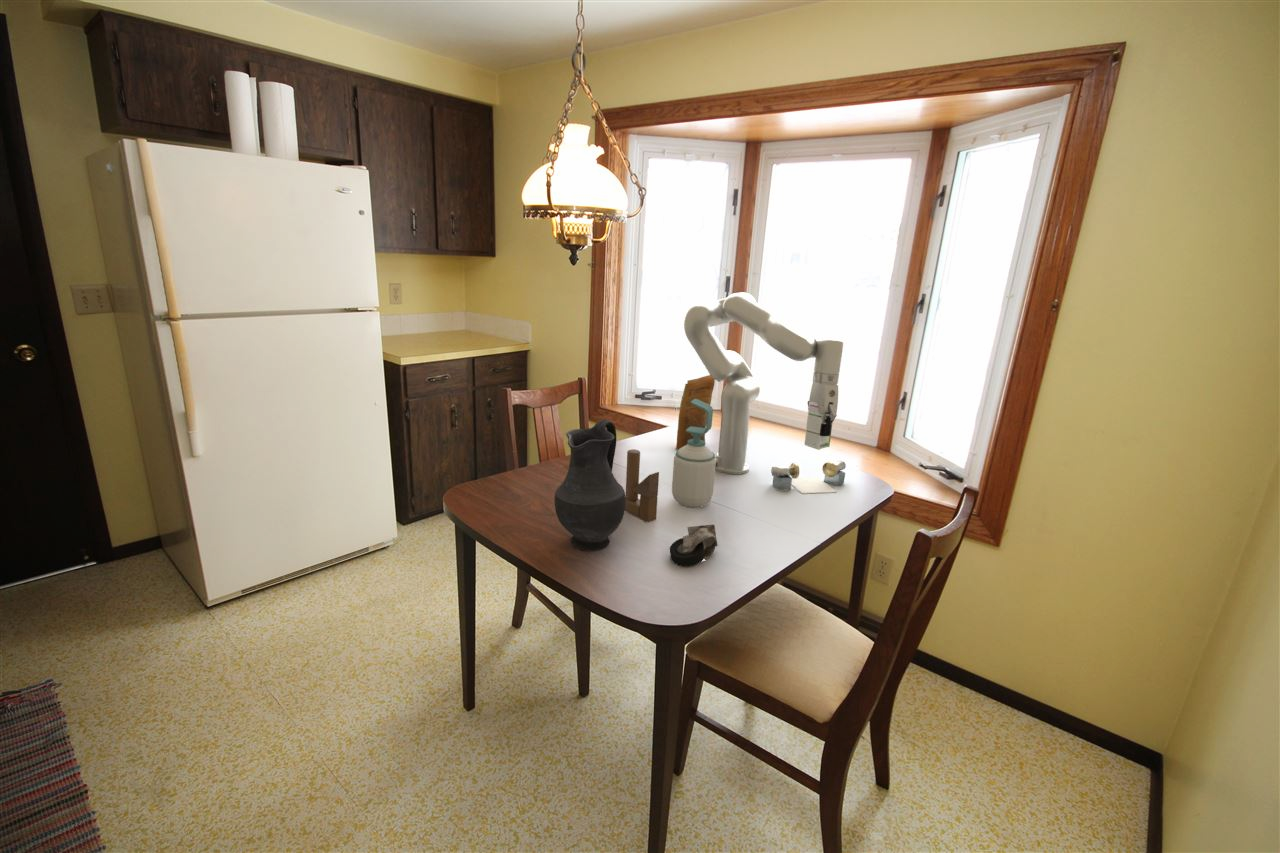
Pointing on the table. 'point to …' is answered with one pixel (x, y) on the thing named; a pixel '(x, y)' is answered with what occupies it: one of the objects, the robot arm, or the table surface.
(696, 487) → the soap bottle
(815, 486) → the mat
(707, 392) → the pancake mix bag
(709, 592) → the table surface
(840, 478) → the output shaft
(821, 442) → the syrup box
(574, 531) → the pitcher
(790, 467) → the shaft
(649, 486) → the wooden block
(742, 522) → the table surface
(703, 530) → the caster wheel
